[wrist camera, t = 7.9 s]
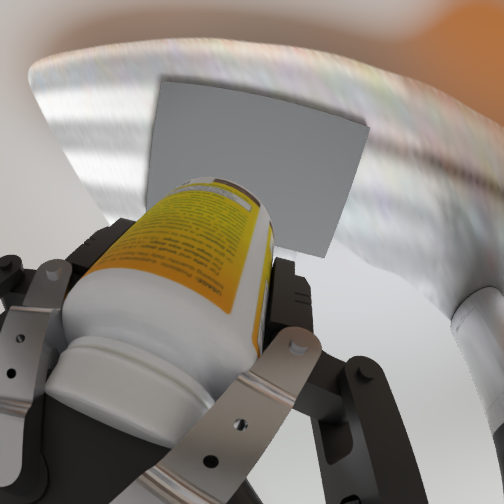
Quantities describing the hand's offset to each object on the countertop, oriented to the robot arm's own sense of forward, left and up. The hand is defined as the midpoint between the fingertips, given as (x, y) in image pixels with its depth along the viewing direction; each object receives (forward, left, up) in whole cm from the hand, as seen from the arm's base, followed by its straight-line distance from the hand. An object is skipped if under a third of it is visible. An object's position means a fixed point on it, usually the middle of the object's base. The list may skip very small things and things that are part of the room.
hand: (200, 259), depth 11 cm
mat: (0, 0, -15) cm, 15 cm away
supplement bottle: (0, 0, -3) cm, 3 cm away
